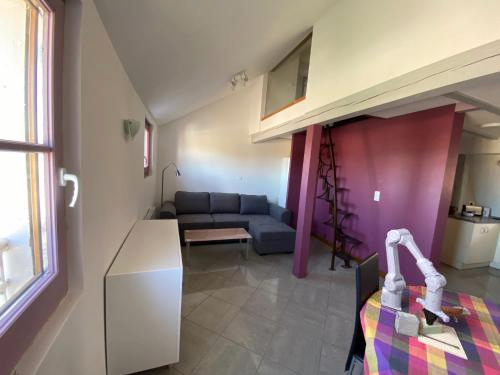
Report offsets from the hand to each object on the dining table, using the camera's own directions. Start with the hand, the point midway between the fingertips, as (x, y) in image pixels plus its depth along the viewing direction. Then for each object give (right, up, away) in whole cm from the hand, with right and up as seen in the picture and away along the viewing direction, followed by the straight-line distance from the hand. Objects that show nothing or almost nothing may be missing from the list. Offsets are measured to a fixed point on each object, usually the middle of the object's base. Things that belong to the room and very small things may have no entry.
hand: (429, 324), depth 103 cm
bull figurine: (+17, -2, +6) cm, 19 cm away
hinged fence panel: (-3, -1, -4) cm, 5 cm away
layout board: (0, -2, -4) cm, 5 cm away
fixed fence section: (-5, -1, +1) cm, 5 cm away
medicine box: (-14, -2, -3) cm, 15 cm away
